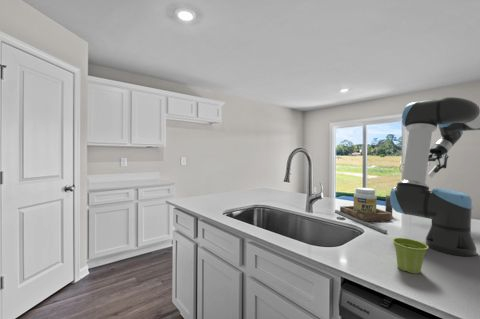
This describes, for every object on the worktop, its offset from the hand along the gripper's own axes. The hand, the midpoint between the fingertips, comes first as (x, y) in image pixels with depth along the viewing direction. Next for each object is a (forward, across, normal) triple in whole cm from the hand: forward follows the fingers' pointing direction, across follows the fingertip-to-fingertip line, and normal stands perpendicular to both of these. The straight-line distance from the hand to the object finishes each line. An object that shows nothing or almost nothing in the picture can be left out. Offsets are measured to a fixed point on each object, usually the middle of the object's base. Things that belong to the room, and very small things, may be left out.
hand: (418, 174), depth 134 cm
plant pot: (+59, -49, +23) cm, 80 cm away
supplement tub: (+37, +10, 0) cm, 39 cm away
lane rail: (+45, +2, +8) cm, 46 cm away
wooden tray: (+34, +10, -3) cm, 35 cm away
